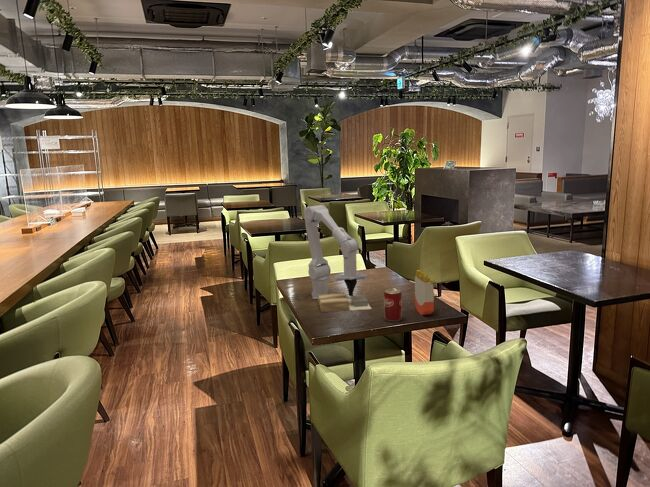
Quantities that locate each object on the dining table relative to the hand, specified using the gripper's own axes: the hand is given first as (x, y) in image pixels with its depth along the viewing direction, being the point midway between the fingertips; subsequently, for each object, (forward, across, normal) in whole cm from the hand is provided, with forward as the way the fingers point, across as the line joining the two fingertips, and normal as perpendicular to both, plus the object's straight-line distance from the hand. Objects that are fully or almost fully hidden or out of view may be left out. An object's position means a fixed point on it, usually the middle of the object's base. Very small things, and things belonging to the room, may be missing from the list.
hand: (350, 295), depth 220 cm
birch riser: (+4, -8, 0) cm, 9 cm away
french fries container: (+5, +29, -17) cm, 34 cm away
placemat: (+4, +3, 0) cm, 5 cm away
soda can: (+5, +14, -22) cm, 26 cm away
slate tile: (+2, +4, 0) cm, 4 cm away
